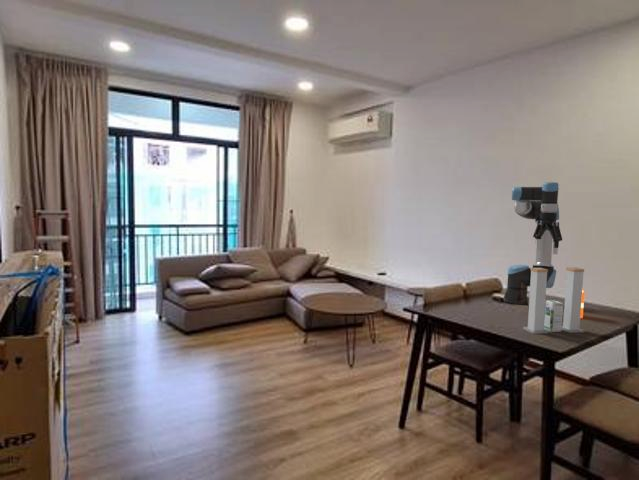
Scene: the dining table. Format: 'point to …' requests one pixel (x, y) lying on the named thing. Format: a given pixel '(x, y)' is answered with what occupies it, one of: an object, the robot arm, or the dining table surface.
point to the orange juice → (582, 304)
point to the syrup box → (553, 316)
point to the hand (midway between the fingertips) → (546, 252)
